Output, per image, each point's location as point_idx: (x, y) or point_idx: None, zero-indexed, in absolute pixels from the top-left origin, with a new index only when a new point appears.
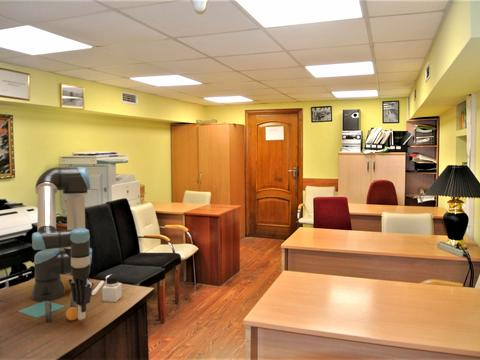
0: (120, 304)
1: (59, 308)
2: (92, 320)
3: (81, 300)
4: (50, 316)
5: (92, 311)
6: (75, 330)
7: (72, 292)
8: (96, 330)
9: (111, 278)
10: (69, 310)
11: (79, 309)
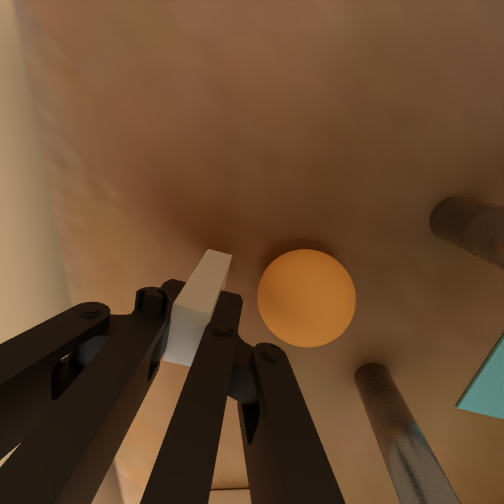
0: None
1: (477, 380)
2: None
3: (121, 340)
4: (458, 222)
5: None
6: (180, 150)
7: (311, 465)
8: (54, 190)
9: None
10: (316, 287)
11: (196, 285)
